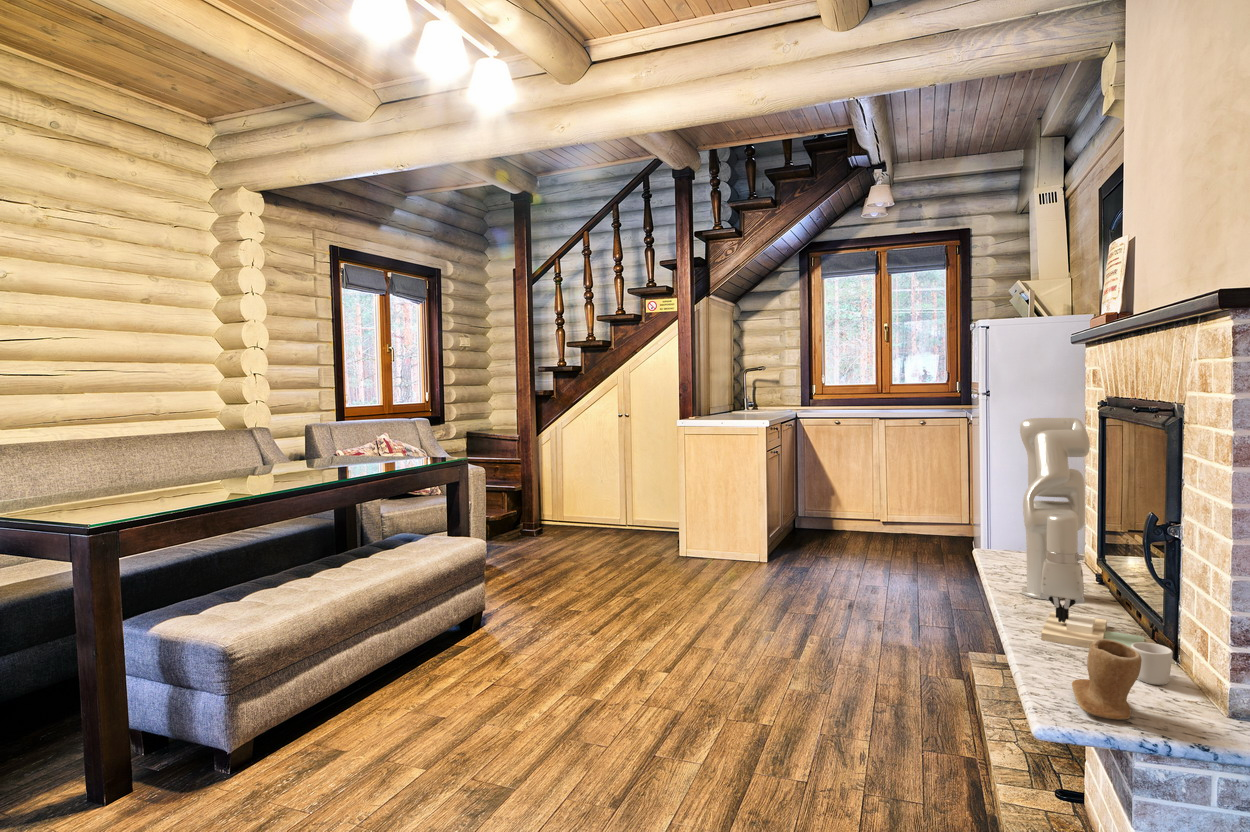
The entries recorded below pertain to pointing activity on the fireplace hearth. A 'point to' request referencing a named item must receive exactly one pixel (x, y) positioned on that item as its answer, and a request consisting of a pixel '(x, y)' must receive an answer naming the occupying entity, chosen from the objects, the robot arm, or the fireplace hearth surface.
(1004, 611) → the fireplace hearth surface
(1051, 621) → the wavy wooden board
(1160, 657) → the cup
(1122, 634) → the mat
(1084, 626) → the cream rectangular block
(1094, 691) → the brown hollow flared vessel
